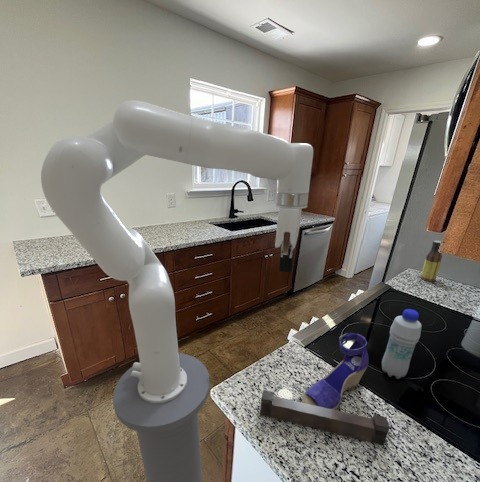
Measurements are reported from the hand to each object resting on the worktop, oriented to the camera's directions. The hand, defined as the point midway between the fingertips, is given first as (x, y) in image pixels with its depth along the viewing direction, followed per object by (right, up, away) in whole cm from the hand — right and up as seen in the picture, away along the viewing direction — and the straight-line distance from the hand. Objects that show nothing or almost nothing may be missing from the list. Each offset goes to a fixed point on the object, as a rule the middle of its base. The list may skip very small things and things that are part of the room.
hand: (285, 270), depth 71 cm
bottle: (+30, -29, +3) cm, 42 cm away
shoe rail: (+5, -34, -12) cm, 37 cm away
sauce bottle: (+82, -4, +62) cm, 103 cm away
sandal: (+11, -32, -4) cm, 34 cm away
